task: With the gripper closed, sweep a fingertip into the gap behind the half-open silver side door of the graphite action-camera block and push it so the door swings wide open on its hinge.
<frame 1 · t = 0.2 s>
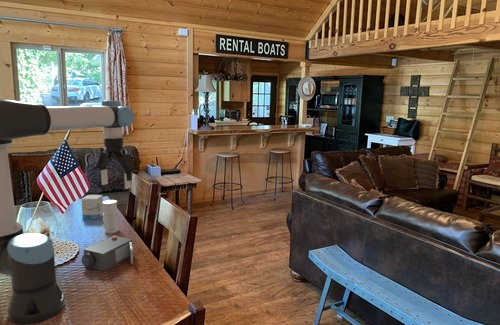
hand: (116, 186, 158), 27 cm above the table, fingers open, 13 cm apart
ink box: (93, 217, 202), on the table
candle: (111, 231, 181), on the table
side door: (131, 252, 148), point 4 cm above the table, hinge at 45.0°, touching camera body
camera body: (109, 260, 149), on the table
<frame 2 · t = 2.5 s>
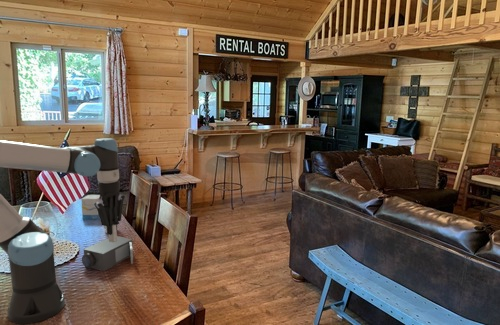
hand: (113, 241, 138), 12 cm above the table, fingers closed
nothing on the table moved.
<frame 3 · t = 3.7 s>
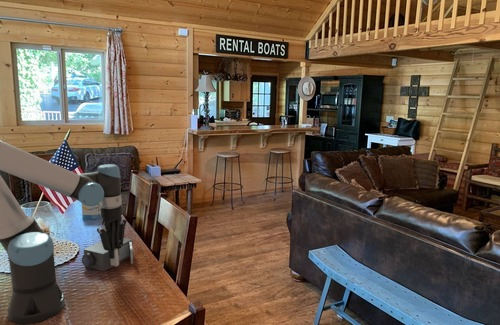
hand: (114, 265, 140), 2 cm above the table, fingers closed
nothing on the table moved.
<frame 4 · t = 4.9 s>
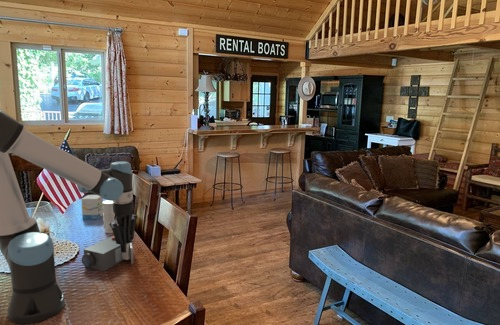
hand: (126, 258, 145), 2 cm above the table, fingers closed
side door: (131, 252, 148), point 4 cm above the table, hinge at 45.7°, touching camera body, gripper
everything else where it was.
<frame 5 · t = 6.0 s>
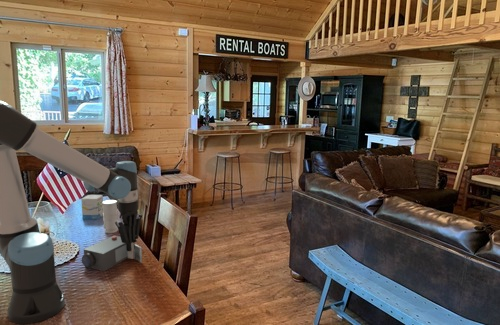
hand: (131, 258, 146), 2 cm above the table, fingers closed
side door: (135, 251, 149), point 4 cm above the table, hinge at 70.9°, touching camera body, gripper
everything else where it was.
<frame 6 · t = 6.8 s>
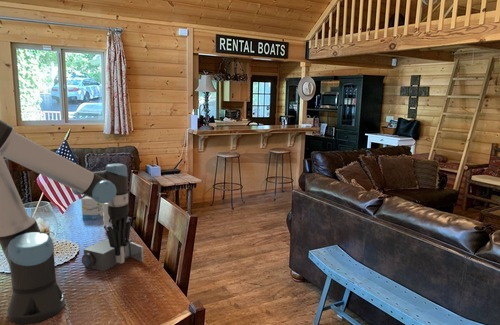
hand: (120, 262, 143), 2 cm above the table, fingers closed
side door: (136, 251, 149), point 4 cm above the table, hinge at 76.1°, touching camera body
everything else where it was.
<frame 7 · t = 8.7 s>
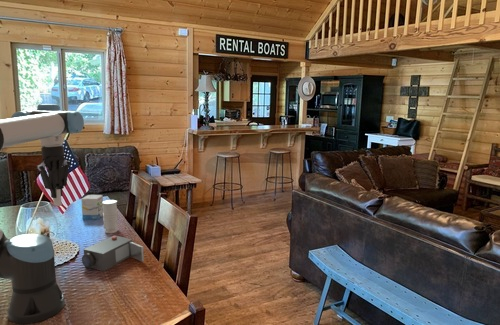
hand: (57, 205, 142), 24 cm above the table, fingers closed
nothing on the table moved.
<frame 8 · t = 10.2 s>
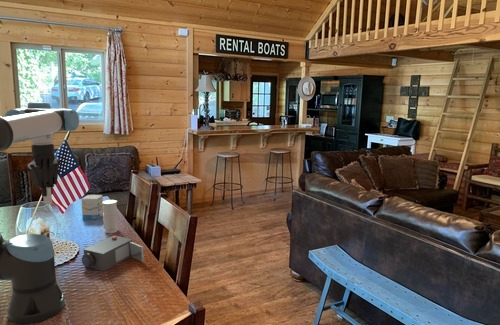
hand: (48, 203, 142), 24 cm above the table, fingers closed
nothing on the table moved.
at the end: side door at +76° (first picture: +45°) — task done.
